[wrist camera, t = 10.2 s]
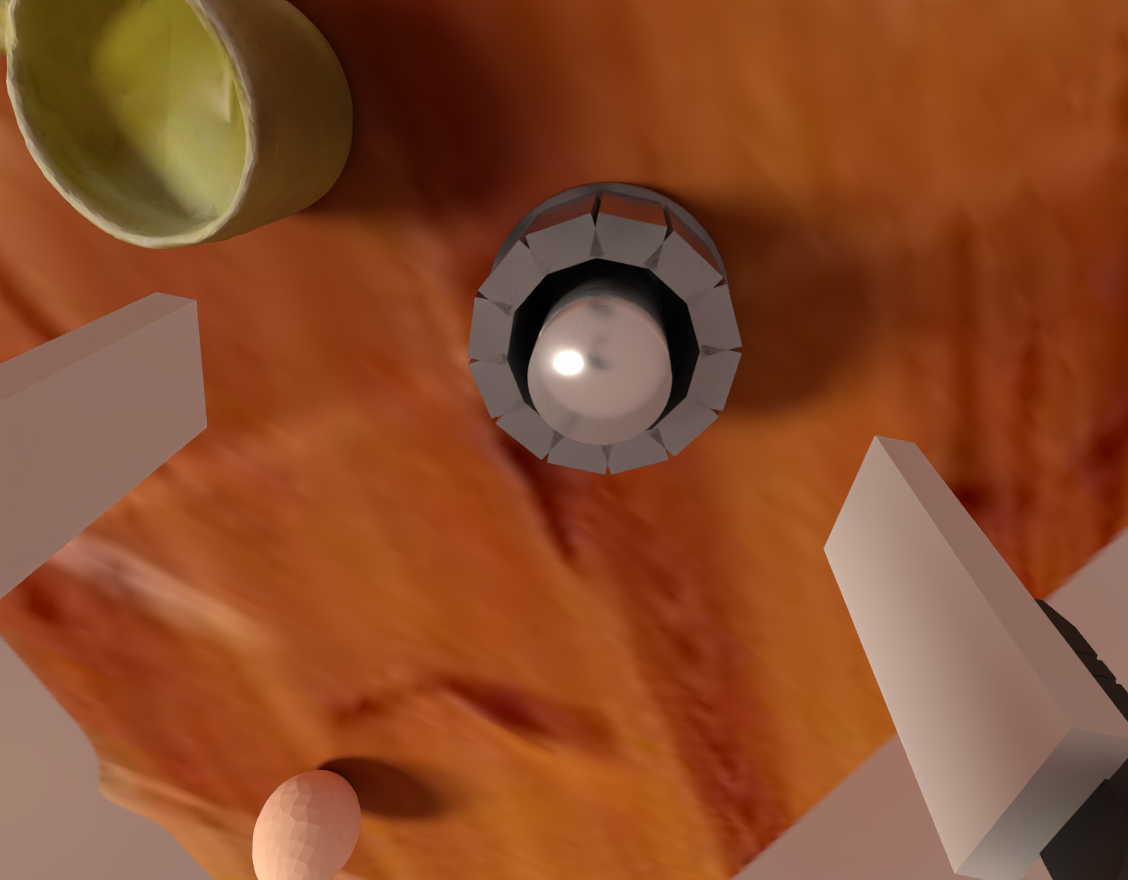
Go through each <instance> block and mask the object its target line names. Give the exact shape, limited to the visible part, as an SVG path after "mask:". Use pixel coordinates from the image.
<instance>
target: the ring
mask: <svg viewBox="0 0 1128 880" xmlns="http://www.w3.org/2000/svg"><path fill="white" fill-rule="evenodd" d="M594 258H601V259H606V260H610V261H615V262H620V263H625V264H629V265H634V266H639V267H644V268H648V269H650V270H651V271H652V272H653V273H654V274H655V275H657V276H658V277H659V278H660V279H661V280H662V281H663V282H664V283H665V284H666V285H667V286H668V287H669V288H671V289H672V290H673V291H674V292H675V293H676V294H677V295H678V296H679V297H680V298H681V299H682V300H684V301H685V302H686V303H687V305H688V307H687V311H686V314H685V318H684V322H683V325H682V329H681V332H680V336H679V339H678V343H677V345H676V346H675V347H674V348H673V349H672V350H671V351H670V352H669V357H670V364H671V372H672V385H671V391H670V396H669V399H668V401H667V404H666V406H665V408H664V410H663V412H662V413H661V414H660V416H659V417H658V419H657V420H656V421H655V422H654V423H653V424H652V425H651V426H650V427H649V428H647V429H646V430H645V431H644V432H642V433H640V434H639V435H637V436H635V437H633V438H631V439H629V440H626V441H623V442H620V443H615V444H607V445H593V444H586V443H582V442H578V441H575V440H572V439H570V438H568V437H566V436H564V435H562V434H560V433H559V432H557V431H556V430H555V429H553V428H552V427H551V426H550V425H549V424H548V423H547V422H546V421H545V420H544V419H543V418H542V417H541V415H540V414H539V412H538V411H537V409H536V407H535V405H534V403H533V401H532V398H531V395H530V392H529V387H528V367H529V363H530V359H531V356H532V353H533V350H534V347H535V345H536V342H537V337H536V334H535V332H534V329H533V326H532V324H531V321H530V318H529V316H528V308H529V302H530V296H531V292H532V291H533V290H534V289H535V287H536V286H537V285H538V284H539V283H540V282H541V280H542V279H543V278H544V277H545V276H546V275H547V274H549V273H552V272H555V271H558V270H561V269H564V268H567V267H570V266H573V265H576V264H579V263H582V262H585V261H588V260H591V259H594ZM478 291H479V292H478V294H477V295H476V296H475V301H474V309H473V317H472V324H471V332H470V340H469V348H468V355H467V358H471V360H470V362H469V364H468V365H469V367H470V370H471V372H472V374H473V377H474V379H475V381H476V384H477V386H478V388H479V391H480V393H481V395H482V398H483V400H484V402H485V405H486V407H487V409H488V412H489V414H490V416H491V418H494V417H498V418H497V421H496V423H495V424H497V425H498V426H499V427H501V428H502V429H503V430H504V431H506V432H507V433H508V434H509V435H511V436H512V437H513V438H514V439H516V440H517V441H518V442H519V443H521V444H522V445H523V446H525V447H526V448H527V449H528V450H530V451H531V452H532V453H533V454H535V455H536V456H537V457H538V458H540V459H541V460H542V459H543V458H544V457H545V456H546V455H547V454H548V453H549V457H548V462H547V463H552V464H557V465H562V466H566V467H571V468H576V469H581V470H586V471H590V472H595V473H600V474H605V472H606V468H607V464H608V466H609V469H610V472H611V474H615V473H619V472H623V471H626V470H630V469H634V468H638V467H642V466H646V465H650V464H654V463H658V462H661V461H665V460H669V457H668V451H669V452H670V453H671V454H672V455H673V456H676V455H677V454H678V453H679V452H680V451H681V450H683V449H684V448H685V447H686V446H687V445H688V444H689V443H690V442H691V441H693V440H694V439H695V438H696V437H697V436H698V435H699V434H700V433H701V432H703V431H704V430H705V429H706V428H707V427H708V426H709V425H710V424H712V423H713V422H714V421H715V420H716V419H717V418H718V417H719V414H718V411H717V410H720V411H723V409H724V406H725V403H726V400H727V397H728V394H729V391H730V388H731V385H732V382H733V379H734V376H735V373H736V370H737V367H738V364H739V361H740V358H741V355H742V352H741V349H740V347H741V346H742V343H741V339H740V334H739V330H738V326H737V322H736V318H735V314H734V310H733V306H732V302H731V298H730V294H729V290H728V286H727V283H726V281H725V279H724V277H723V275H722V273H721V271H720V269H719V267H718V265H717V263H716V261H715V259H714V257H713V255H712V253H711V251H710V249H709V247H708V245H707V243H706V242H705V241H704V240H702V239H701V238H700V237H699V236H698V235H697V234H696V233H695V232H694V231H693V230H692V229H691V228H690V227H689V226H688V225H687V224H686V223H685V222H684V221H683V220H682V219H681V218H680V217H679V216H678V215H677V214H675V213H674V212H673V211H672V210H671V209H670V208H669V207H668V206H667V205H665V206H664V207H663V208H662V206H661V202H660V201H656V200H651V199H647V198H642V197H637V196H632V195H628V194H623V193H618V192H614V191H609V190H604V193H603V197H602V200H601V199H600V195H599V192H598V190H596V191H593V192H591V193H588V194H585V195H582V196H579V197H577V198H574V199H571V200H568V201H565V202H563V203H560V204H557V205H554V206H551V207H548V208H546V209H544V210H543V212H542V213H541V214H540V213H538V215H537V216H536V217H535V218H534V220H533V221H532V222H531V223H530V224H529V226H528V227H527V228H526V229H525V231H524V232H523V233H522V234H521V236H520V237H519V238H518V239H517V240H516V242H515V243H514V244H513V245H512V247H511V248H510V249H509V250H508V251H507V253H506V254H505V255H504V256H503V258H502V259H501V260H500V262H499V263H498V264H497V266H496V267H495V268H494V270H493V271H492V272H491V274H490V275H489V276H488V278H487V279H486V280H485V282H484V283H483V284H482V286H481V287H480V288H479V290H478Z"/></svg>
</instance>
